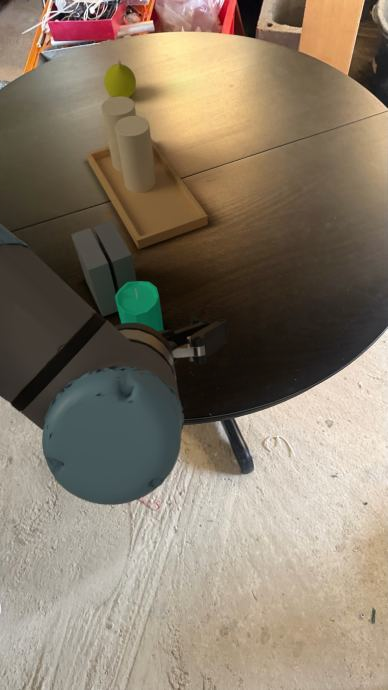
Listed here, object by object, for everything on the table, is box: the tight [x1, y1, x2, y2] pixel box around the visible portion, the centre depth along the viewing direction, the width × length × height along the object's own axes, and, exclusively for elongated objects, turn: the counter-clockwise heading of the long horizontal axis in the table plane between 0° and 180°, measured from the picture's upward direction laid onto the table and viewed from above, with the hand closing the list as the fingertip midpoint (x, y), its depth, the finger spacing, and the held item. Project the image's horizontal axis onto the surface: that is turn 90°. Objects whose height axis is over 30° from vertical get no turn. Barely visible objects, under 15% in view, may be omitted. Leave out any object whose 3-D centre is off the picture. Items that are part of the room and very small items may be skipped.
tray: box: [86, 138, 209, 250], centre depth 91 cm, size 28×14×2 cm, turn 26°
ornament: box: [103, 59, 137, 98], centre depth 106 cm, size 7×7×10 cm
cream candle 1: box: [101, 97, 137, 172], centre depth 91 cm, size 6×6×12 cm
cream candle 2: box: [115, 115, 156, 193], centre depth 87 cm, size 6×6×12 cm
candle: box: [115, 280, 165, 331], centre depth 68 cm, size 6×6×12 cm
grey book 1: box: [70, 227, 118, 318], centre depth 73 cm, size 8×3×11 cm, turn 26°
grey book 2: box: [93, 220, 138, 294], centre depth 74 cm, size 8×3×11 cm, turn 26°
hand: (140, 330), depth 60 cm, fingers open, 13 cm apart
